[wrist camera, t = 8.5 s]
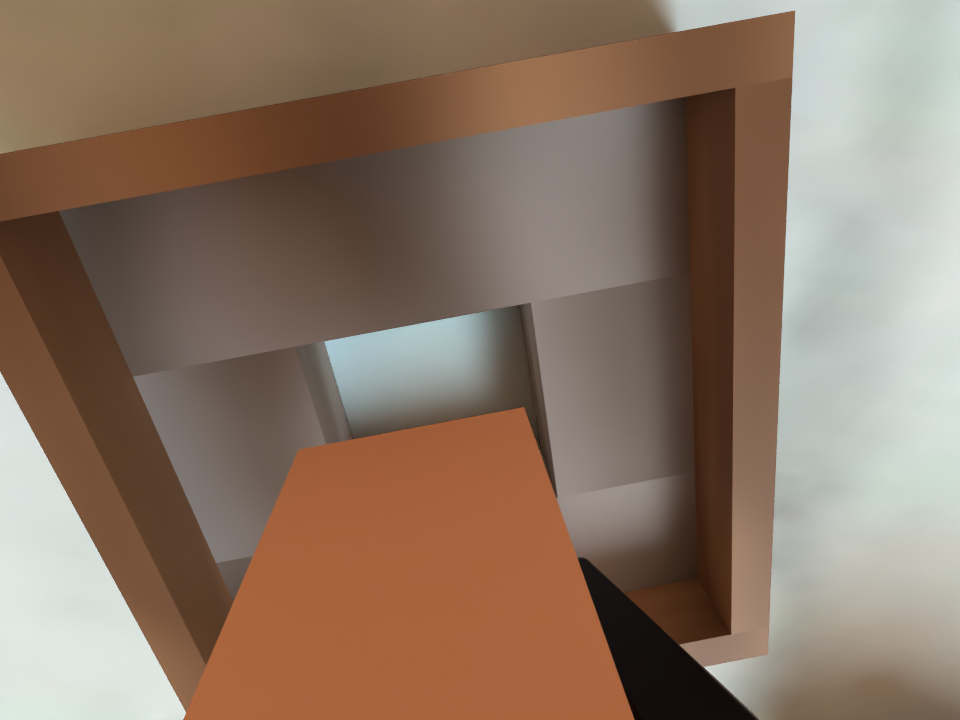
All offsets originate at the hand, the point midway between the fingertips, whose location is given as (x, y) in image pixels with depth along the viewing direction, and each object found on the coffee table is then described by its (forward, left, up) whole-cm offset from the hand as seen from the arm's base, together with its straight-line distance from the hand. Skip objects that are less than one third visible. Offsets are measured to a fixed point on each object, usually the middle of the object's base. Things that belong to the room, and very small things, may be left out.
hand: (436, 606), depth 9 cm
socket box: (0, 0, -8) cm, 8 cm away
